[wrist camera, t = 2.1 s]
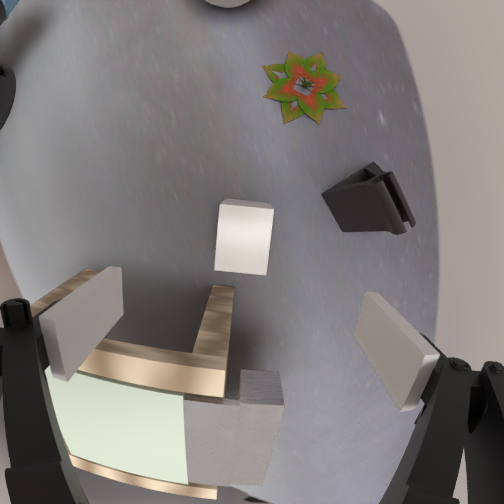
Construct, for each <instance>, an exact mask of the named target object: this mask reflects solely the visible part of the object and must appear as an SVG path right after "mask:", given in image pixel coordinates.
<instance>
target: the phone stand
mask: <svg viewBox="0 0 504 504" xmlns="http://www.w3.org/2000/svg"><path fill="white" fill-rule="evenodd" d="M322 196H323V197H324V199H325V201H326V203H327V204H328V206H329V208H330V210H331V211H332V213H333V215H334V217H335V218H336V220H337V222H338V224H339V226H340V228H341V229H342V231H343V232H365V231H389V232H391V233H392V234H395V235H398V234H402V233H405V232H407V231H406V229H405V226H404V224H403V222H407V221H409V223H410V225H411V227H414V225H415V224H416V222H415V219H414V217H413V215H412V212H411V210H410V208H409V205H408V203H407V201H406V199H405V197H404V195H403V192H402V190H401V188H400V186H399V184H398V182H397V180H396V178H395V176H394V174H393V172H384V171H383V170H382V169H381V168H380V167H379V166H378V165H377V164H376V163H375V162H373V163H371V164H369V165H368V166H366V167H365V168H363V169H361V170H360V171H358V172H356V173H355V174H353V175H351V176H350V177H349V178H346V179H345V180H343V181H342V182H340V183H338V184H337V185H335V186H333V187H332V188H330V189H329V190H327V191H325V192H324V193H322Z"/></svg>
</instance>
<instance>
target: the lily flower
mask: <svg viewBox="0 0 504 504" xmlns="http://www.w3.org/2000/svg"><path fill="white" fill-rule="evenodd" d="M322 56H323V52H322V53H321V54H317V55H316V56H311V57H309V58H307V59H303V58H302V57H300V56H298V55H296V54H292V53H291V52H290V51H289V53H288V58H287V59H286V62H285V65H283V64H274V65H269V66H267V67H266V66H262V67H263V68H264V70H265V72H267V75H268V76H269V78H270V79H271V80H272V82H273V83H274V84H273V85H272V86H271V87H270V89H269V90H268V93H267V94H266V95H265V96H263V97H264V98H266V97H267V98H270V99H272V98H273V99H275V100H280V101H282V103H281V107H282V114H283V117H284V124H285V123H287V122H289V121H291V120H292V119H296V118H298V117H299V116H301V115H302V114H304V113H306V114H307V115H308V116H309V117H311V118H312V119H313V120H315V121H316V122H317V123H318V125H319V124H320V120H321V115H323V112H324V108H327V109H337V108H345V107H344V106H343V103H342V101H340V97H339V95H338V94H337V93H336V91H335V90H334V89H333V88H334V87H335V86H336V85H337V84H338V82H339V79H341V78H342V77H341V76H338V75H337V74H334V73H333V72H331V71H329V70H326V64H325V60H324V58H323V57H322ZM316 63H317V65H316V70H315V71H313V72H312V73H311V68H310V67H312V66H314V65H315V64H316ZM271 70H272V71H276V72H281V73H282V72H286V74H287V76H288V77H289V78H282V79H279V76H277V75H276V74H275V73H273V72H272V71H271ZM299 76H301V77H302V78H303V79H304V81H303V80H301V79H300V80H301V81H302V83H303V86H304V87H305V88H306V89H308V88H307V87H313V89H312V92H311V93H310V94H309V96H306V95H304V94H301V93H299V92H297V91H295V90H294V89H293V87H294V85H295V82H296V80H297V79H298V78H299ZM305 78H306V79H308V80H310V81H311V82H312V83H310V82H309V81H308V80H307V81H308V82H309V83H308V82H307V83H308V84H307V83H306V81H305ZM313 83H314V86H312V85H311V84H313ZM297 85H299V84H297ZM300 86H302V85H300ZM303 86H302V87H303ZM304 87H303V88H304ZM308 90H309V89H308ZM309 91H310V90H309ZM319 93H325V95H326V97H327V98H328V99H323V97H322V96H321V94H319ZM296 99H298V103H299V106H297V107H294V108H293V109H292V110H291V108H292V105H291V101H294V100H296ZM345 109H346V108H345Z"/></svg>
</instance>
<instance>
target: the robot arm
mask: <svg viewBox="0 0 504 504" xmlns="http://www.w3.org/2000/svg"><path fill="white" fill-rule="evenodd" d="M18 2H19V0H0V26H1V24H2V23H3V22H4V21H5V20H7V18H8V16H9V14H10V13H11V11H12V10H13V9H14V7H15V6H16V5H17V3H18ZM14 94H15V76H14V73H13V71H12V70H11V69H10V68H9V67H7V66H4V65H1V64H0V129H1V127H2V126H3V124H4V122H5V121H6V119H7V117H8V114H9V112H10V109H11V106H12V103H13V99H14ZM0 310H1V315H2V319H3V324H4V328H0V400H1V395H2V392H3V408H4V421H5V430H6V438H7V445H8V452H9V457H10V463H11V468H7V469H6V470H5V478H6V484H7V488H8V493H9V496H10V501H11V504H90V503H89V502H88V499H87V497H86V495H85V493H84V491H83V488H82V486H81V484H80V482H79V479H78V477H77V475H76V472H75V470H74V467H73V465H72V462H71V459H70V457H69V454H68V451H67V448H66V446H65V443H64V440H63V437H62V434H61V430H60V427H59V424H58V420H57V417H56V413H55V410H54V406H53V402H52V398H51V394H50V390H49V386H48V381H47V377H46V373H45V370H46V369H47V368H48V366H49V365H50V369H51V373H52V376H53V377H54V378H56V379H59V380H62V381H65V382H68V381H69V380H70V379H71V377H72V376H73V375H74V374H75V372H76V371H77V370H78V369H79V367H80V366H81V365H82V364H83V362H84V361H85V360H86V359H87V357H88V356H89V355H90V354H91V353H92V351H93V350H94V349H95V348H96V346H97V345H98V344H99V343H100V342H101V340H102V339H103V338H104V337H105V336H106V334H107V333H108V332H109V331H110V330H111V328H112V327H113V326H114V325H115V324H116V323H117V321H118V320H119V319H120V318H121V317H122V316H123V314H124V311H123V291H122V268H121V267H113V266H109V267H107V268H106V269H104V270H103V271H101V272H100V273H98V274H97V275H96V276H94V277H93V278H91V279H90V280H88V281H87V282H85V283H84V284H83V285H81V286H80V287H78V288H77V289H76V290H74V291H73V292H71V293H70V294H69V295H67V296H66V297H64V298H62V299H59V300H57V301H54V302H53V303H51V304H50V305H49V306H48V307H46V308H45V309H43V311H40V312H39V313H38V314H36V315H35V316H34V317H32V315H31V309H30V303H29V301H27V300H25V299H21V298H17V299H10V300H7V301H5V302H4V303H2V304H1V306H0ZM354 337H355V339H356V340H357V342H358V343H359V345H360V347H361V348H362V350H363V351H364V353H365V355H366V356H367V358H368V359H369V361H370V363H371V364H372V366H373V367H374V369H375V371H376V372H377V374H378V376H379V377H380V379H381V381H382V382H383V384H384V386H385V387H386V389H387V390H388V392H389V394H390V395H391V397H392V399H393V401H394V402H395V404H396V406H397V407H398V409H399V411H400V412H402V411H409V410H415V408H416V406H417V404H418V402H419V400H420V398H421V399H422V400H423V402H424V403H425V404H424V406H423V408H422V410H421V412H420V414H419V415H418V417H417V419H416V421H415V423H414V424H416V426H415V429H414V431H413V434H412V436H411V439H410V441H409V443H408V446H407V448H406V451H405V453H404V455H403V457H402V460H401V462H400V464H399V466H398V468H397V470H396V472H395V474H394V477H393V479H392V481H391V483H390V484H389V486H388V488H387V490H386V492H385V494H384V496H383V498H382V499H381V501H380V503H379V504H459V503H460V502H459V500H458V499H456V498H452V497H453V492H454V489H455V485H456V480H457V477H458V472H459V468H460V463H461V458H462V453H463V448H464V451H465V461H466V472H467V487H468V488H467V489H468V504H504V366H502V364H501V363H498V362H493V361H487V362H485V364H484V365H483V368H482V370H481V371H472V370H471V367H470V365H469V364H468V363H467V362H465V361H464V360H461V359H459V358H454V357H453V358H447V357H446V356H445V355H444V354H443V353H442V352H441V351H440V350H439V349H438V348H437V347H435V345H434V344H433V343H431V341H430V340H429V339H428V338H427V337H426V336H424V335H423V334H421V333H419V332H418V331H417V330H416V329H415V328H414V327H413V326H412V325H411V324H410V323H409V322H408V321H406V320H405V319H404V318H403V317H402V316H401V315H400V314H399V313H398V312H397V311H396V310H395V309H394V308H393V307H392V306H391V305H390V304H389V303H388V302H387V301H386V300H385V299H384V298H383V297H381V296H380V295H379V294H378V293H375V292H365V295H364V299H363V303H362V308H361V312H360V316H359V320H358V323H357V327H356V331H355V335H354Z"/></svg>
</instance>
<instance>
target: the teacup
mask: <svg viewBox="0 0 504 504" xmlns="http://www.w3.org/2000/svg"><path fill="white" fill-rule="evenodd" d="M205 1H206V2H208V3H210V4H213V5H216V6H220V7H224V8H234V7H238V6H240V5H242V4H244V3H247V2H249V1H250V0H205Z"/></svg>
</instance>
